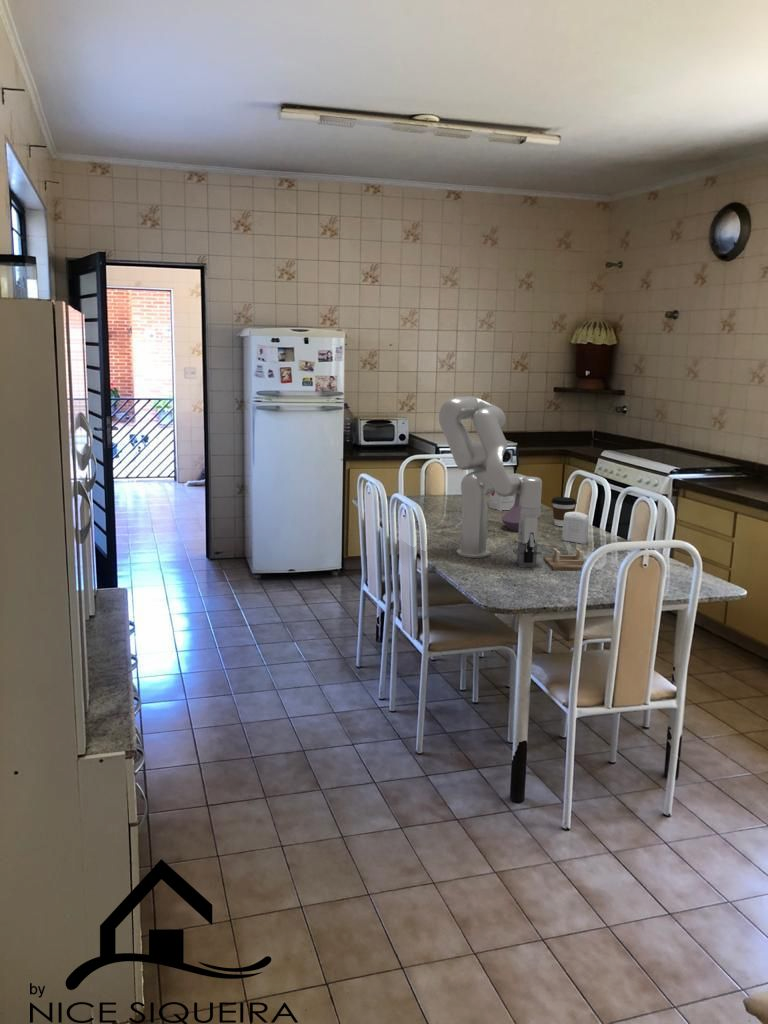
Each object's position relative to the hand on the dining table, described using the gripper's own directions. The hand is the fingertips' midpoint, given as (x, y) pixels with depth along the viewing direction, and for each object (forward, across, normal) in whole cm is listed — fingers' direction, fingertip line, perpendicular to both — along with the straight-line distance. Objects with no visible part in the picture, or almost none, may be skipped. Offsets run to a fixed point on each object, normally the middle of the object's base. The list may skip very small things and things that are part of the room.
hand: (526, 560), depth 295 cm
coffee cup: (+2, -64, +31) cm, 71 cm away
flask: (+2, -57, +10) cm, 58 cm away
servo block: (+2, 0, 0) cm, 2 cm away
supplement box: (+2, -99, +11) cm, 100 cm away
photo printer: (+2, -35, +28) cm, 45 cm away
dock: (+2, 0, +15) cm, 15 cm away
